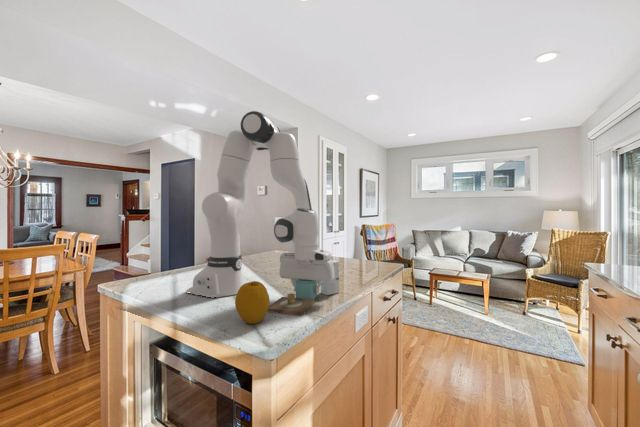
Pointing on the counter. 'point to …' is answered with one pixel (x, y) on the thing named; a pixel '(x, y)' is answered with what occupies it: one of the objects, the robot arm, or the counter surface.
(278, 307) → the tan plate with disc
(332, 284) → the skincare box
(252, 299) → the apple
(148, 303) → the counter surface
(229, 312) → the counter surface
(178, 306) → the counter surface
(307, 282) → the teal cube box
